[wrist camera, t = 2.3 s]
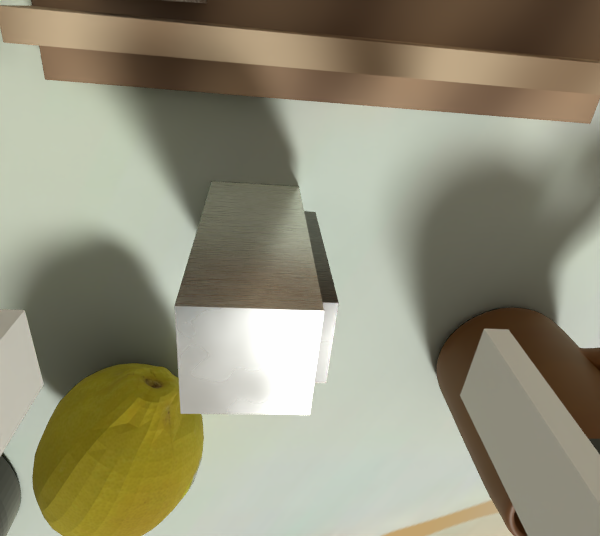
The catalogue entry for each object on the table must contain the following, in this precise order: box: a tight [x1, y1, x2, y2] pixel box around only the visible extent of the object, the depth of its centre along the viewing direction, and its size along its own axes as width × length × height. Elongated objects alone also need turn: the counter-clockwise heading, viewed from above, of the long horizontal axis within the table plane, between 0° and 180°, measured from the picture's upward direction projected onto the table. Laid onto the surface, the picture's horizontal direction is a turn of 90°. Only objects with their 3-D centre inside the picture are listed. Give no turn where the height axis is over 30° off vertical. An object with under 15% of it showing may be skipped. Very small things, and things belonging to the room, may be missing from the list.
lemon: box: [32, 363, 204, 536], centre depth 23 cm, size 11×8×8 cm
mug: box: [436, 308, 600, 536], centre depth 22 cm, size 12×8×9 cm, turn 135°
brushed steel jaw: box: [175, 181, 339, 415], centre depth 18 cm, size 5×4×10 cm
